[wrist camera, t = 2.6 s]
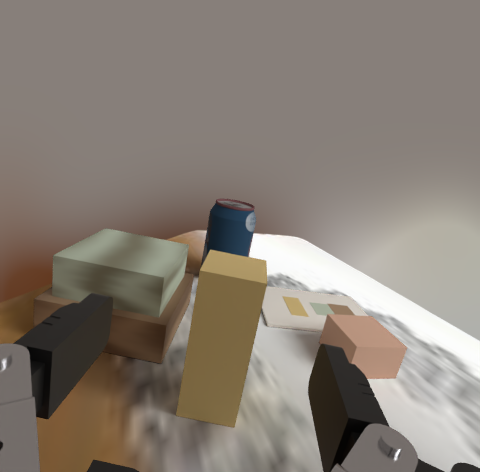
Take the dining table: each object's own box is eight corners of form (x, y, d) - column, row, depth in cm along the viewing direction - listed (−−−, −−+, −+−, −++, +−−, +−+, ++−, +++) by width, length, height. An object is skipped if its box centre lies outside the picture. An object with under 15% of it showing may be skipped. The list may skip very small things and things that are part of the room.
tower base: (189, 303, 41) (198, 244, 39) (161, 363, 30) (172, 284, 27) (97, 284, 41) (101, 224, 39) (33, 337, 30) (34, 256, 28)
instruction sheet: (350, 298, 52) (350, 296, 52) (386, 339, 42) (387, 336, 42) (253, 286, 50) (254, 284, 50) (267, 326, 39) (267, 323, 39)
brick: (362, 344, 40) (371, 316, 39) (394, 379, 34) (407, 347, 33) (318, 343, 38) (327, 313, 37) (345, 380, 33) (356, 346, 31)
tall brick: (238, 385, 29) (266, 260, 26) (234, 427, 24) (267, 283, 21) (188, 375, 29) (210, 249, 26) (176, 415, 24) (199, 270, 21)
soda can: (252, 283, 51) (268, 209, 48) (219, 291, 46) (234, 209, 43) (223, 266, 55) (236, 198, 52) (190, 272, 51) (202, 197, 47)
